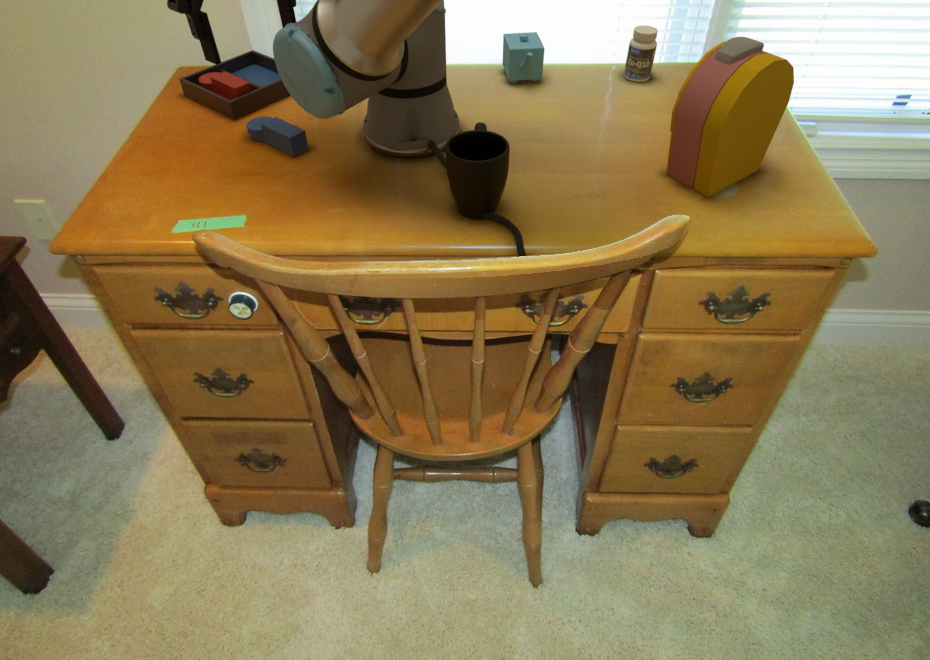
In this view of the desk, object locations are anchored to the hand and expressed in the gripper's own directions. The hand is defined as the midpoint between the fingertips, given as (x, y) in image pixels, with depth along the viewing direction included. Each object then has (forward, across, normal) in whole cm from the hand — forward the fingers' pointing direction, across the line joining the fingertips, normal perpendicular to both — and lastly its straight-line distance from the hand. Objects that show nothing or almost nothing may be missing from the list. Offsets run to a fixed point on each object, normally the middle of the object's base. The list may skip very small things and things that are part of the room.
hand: (253, 46), depth 91 cm
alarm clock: (+15, -34, +58) cm, 69 cm away
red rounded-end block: (+13, -3, -18) cm, 23 cm away
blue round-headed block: (+14, +1, +1) cm, 14 cm away
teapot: (+15, -42, +18) cm, 48 cm away
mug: (+15, -7, +36) cm, 40 cm away
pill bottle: (+15, -56, +34) cm, 67 cm away
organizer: (+14, -7, -18) cm, 24 cm away
